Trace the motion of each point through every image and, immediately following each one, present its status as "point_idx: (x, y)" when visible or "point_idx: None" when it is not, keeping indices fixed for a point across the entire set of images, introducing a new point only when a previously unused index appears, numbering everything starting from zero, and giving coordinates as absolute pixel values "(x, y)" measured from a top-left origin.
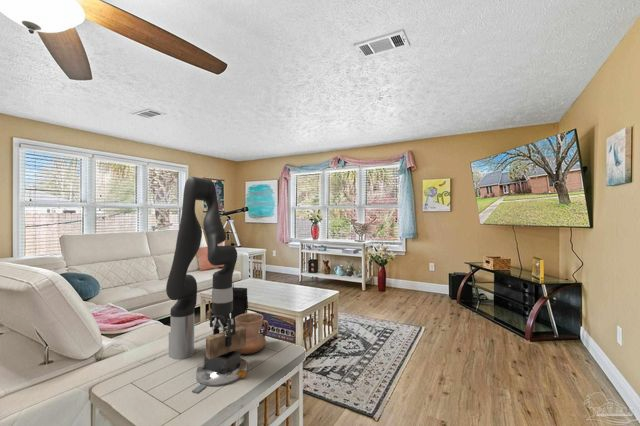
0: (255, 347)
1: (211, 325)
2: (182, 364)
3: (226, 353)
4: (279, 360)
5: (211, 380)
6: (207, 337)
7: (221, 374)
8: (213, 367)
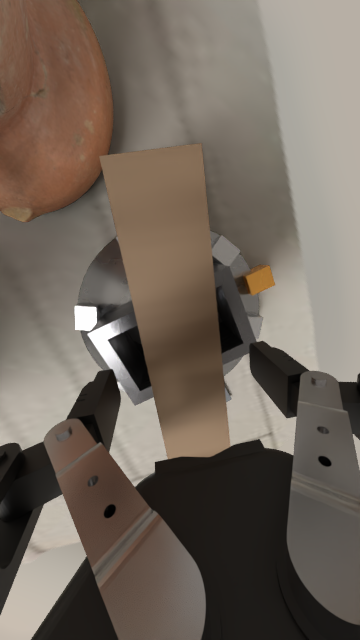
0: (109, 106)
1: (39, 511)
2: (30, 398)
3: None
4: (233, 55)
5: (227, 370)
6: None
7: None
8: None
